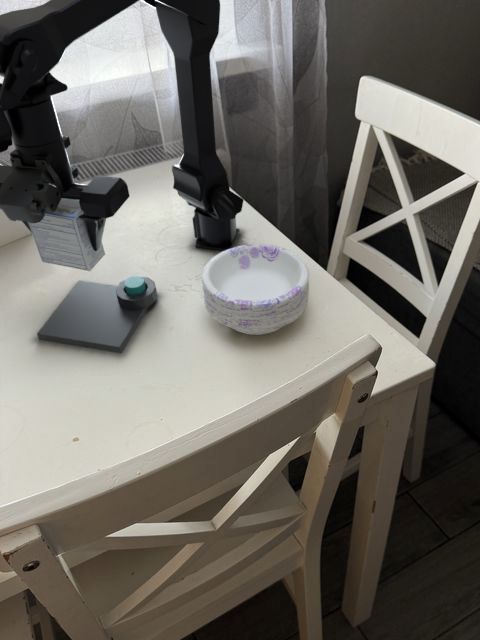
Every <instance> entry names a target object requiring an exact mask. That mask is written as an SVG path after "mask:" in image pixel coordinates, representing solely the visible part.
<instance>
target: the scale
mask: <svg viewBox="0 0 480 640" xmlns="http://www.w3.org/2000/svg"><path fill="white" fill-rule="evenodd" d="M139 276H140V277H142V278H143V279H144V281H145V286H146V290H145V292H144V293H142V294H140V295H135V296H132V295H128V294H127V293H126V289H125V285H124V282H125V280H126V279H124V280H122V281H120V282H119V283H118V285H112V284H107V283H98V282H91V281H85V280H78V281H77V282H76V283H75V284H74V286H73V287H72V288H71V290H70V291H69V292H68V294H66V296H65V297H64V299H63V300H62V301H61V302H60V304H59V305H58V306H57V308H56V309H55V310H54V311H53V312H52V314H51V315H50V317H49V318H48V319H47V320H46V322H45V323H44V324H43V325H42V327H40V329H39V330H38V331H37V333H36V335H37V337H38V340H41V341H46V342H52V343H58V344H64V345H71V346H76V347H81V348H88V349H92V350H93V349H94V350H100V351H105V352H111V353H116V354H122V353H123V351H124V350H125V348H126V347H127V344H128V343H129V342H130V340H131V338H132V337H133V335H134V333H135V332H136V330H137V329H138V327H139V325H140V324H141V322H142V321H143V319H144V318H145V315H146V314H147V312H148V311H149V309H150V308H151V306H152V305H153V304H154V303H155V301H156V300H157V298H158V291H157V286H156V282H155V281H154V280H152V279H151V278H150V277H148V276H141V275H139Z"/></svg>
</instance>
